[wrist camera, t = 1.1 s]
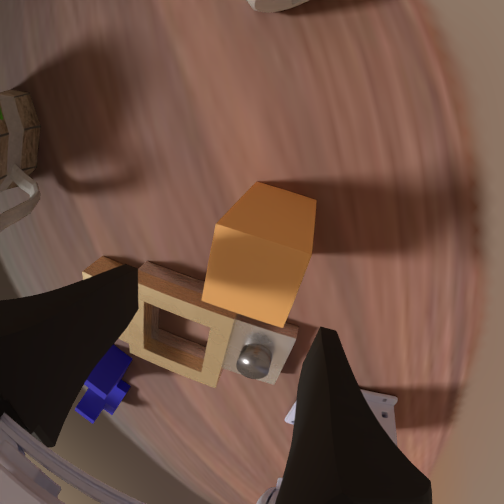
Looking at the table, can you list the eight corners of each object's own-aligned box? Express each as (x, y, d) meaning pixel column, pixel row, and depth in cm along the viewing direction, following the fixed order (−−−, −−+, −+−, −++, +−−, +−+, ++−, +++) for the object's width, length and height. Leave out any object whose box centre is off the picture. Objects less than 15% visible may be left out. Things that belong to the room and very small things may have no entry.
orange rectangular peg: (316, 200, 19) (311, 254, 12) (298, 253, 21) (282, 328, 14) (256, 181, 19) (216, 223, 12) (243, 235, 21) (201, 300, 14)
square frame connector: (303, 314, 23) (299, 346, 20) (273, 380, 27) (265, 410, 24) (102, 243, 24) (76, 262, 21) (106, 315, 28) (86, 335, 25)
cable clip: (121, 400, 36) (102, 430, 31) (96, 381, 36) (75, 410, 31) (144, 365, 31) (118, 403, 25) (112, 342, 30) (83, 377, 25)
